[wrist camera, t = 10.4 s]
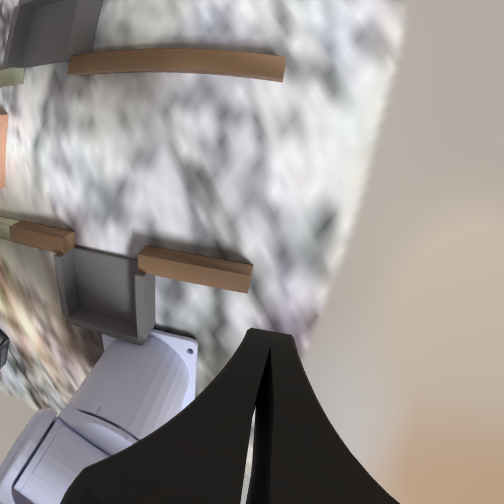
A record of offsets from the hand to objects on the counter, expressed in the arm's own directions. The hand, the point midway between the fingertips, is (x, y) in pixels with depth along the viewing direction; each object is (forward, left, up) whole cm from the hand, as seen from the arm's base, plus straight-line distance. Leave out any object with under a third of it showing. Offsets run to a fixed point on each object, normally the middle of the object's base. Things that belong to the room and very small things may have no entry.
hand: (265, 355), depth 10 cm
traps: (+4, +14, -10) cm, 18 cm away
